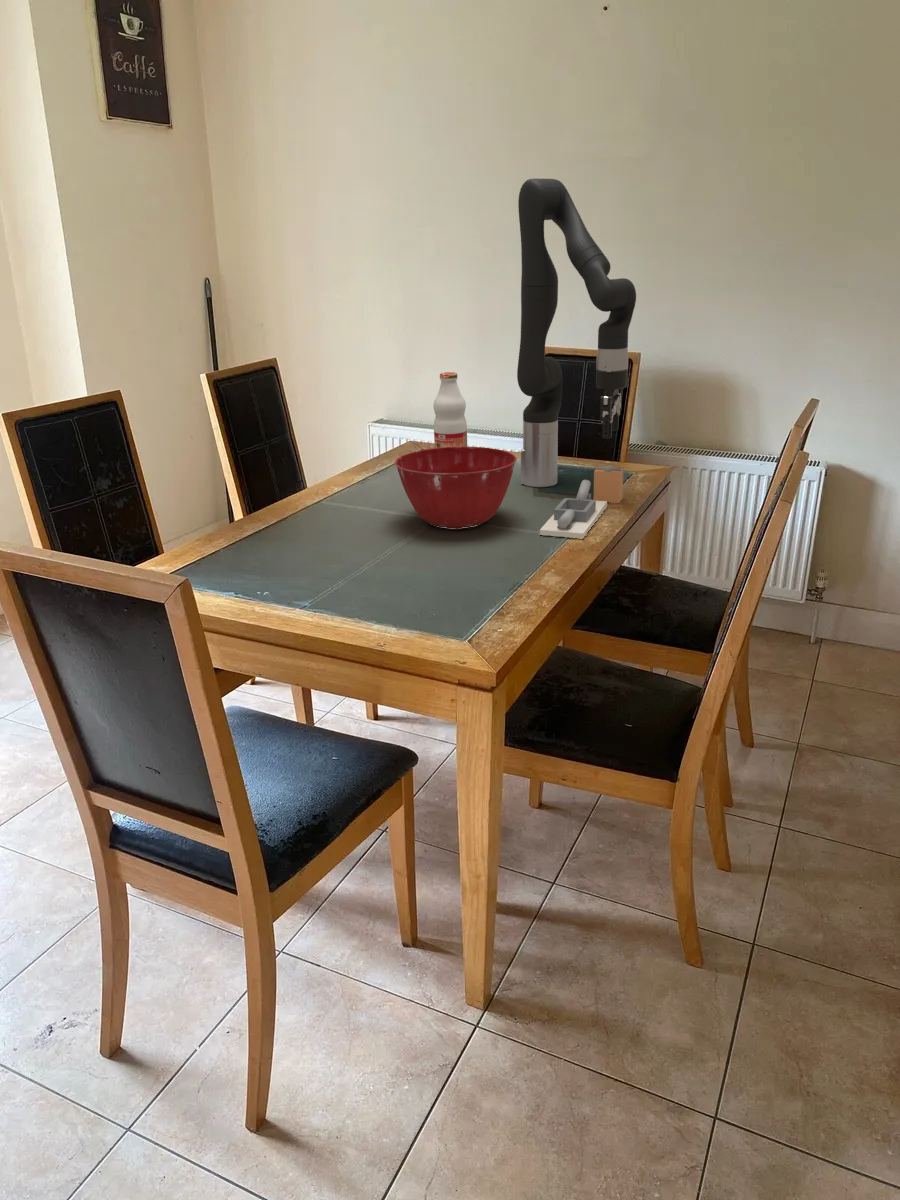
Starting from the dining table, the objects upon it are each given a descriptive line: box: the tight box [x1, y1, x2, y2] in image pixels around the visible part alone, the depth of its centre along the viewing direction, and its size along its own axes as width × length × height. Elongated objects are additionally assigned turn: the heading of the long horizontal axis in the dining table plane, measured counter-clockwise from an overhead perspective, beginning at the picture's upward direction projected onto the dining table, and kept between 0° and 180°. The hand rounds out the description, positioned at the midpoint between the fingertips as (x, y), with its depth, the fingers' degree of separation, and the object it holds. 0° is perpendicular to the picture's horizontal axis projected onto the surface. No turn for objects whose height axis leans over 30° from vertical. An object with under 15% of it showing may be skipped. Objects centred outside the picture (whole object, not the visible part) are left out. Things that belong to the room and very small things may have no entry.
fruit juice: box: [433, 371, 468, 448], centre depth 255 cm, size 9×9×28 cm
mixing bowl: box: [394, 446, 518, 528], centre depth 214 cm, size 28×28×16 cm
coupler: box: [592, 464, 624, 504], centre depth 227 cm, size 6×4×9 cm, turn 69°
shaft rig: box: [539, 479, 608, 539], centre depth 212 cm, size 10×26×7 cm, turn 159°
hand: (610, 434), depth 222 cm, fingers open, 8 cm apart
